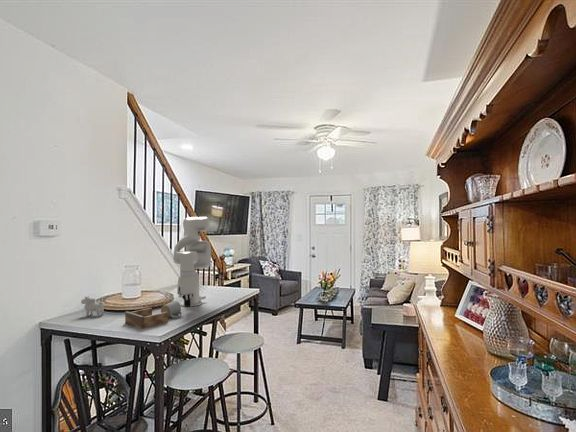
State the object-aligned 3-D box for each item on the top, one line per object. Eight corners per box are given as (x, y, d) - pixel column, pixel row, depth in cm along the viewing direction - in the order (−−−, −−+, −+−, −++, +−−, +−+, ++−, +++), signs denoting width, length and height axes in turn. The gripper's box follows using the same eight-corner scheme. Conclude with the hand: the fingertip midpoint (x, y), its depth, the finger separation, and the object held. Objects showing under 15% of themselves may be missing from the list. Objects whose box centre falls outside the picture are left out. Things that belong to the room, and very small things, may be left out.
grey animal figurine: (85, 313, 192) (85, 295, 192) (106, 314, 190) (106, 295, 190) (78, 316, 187) (78, 297, 187) (99, 316, 185) (99, 297, 185)
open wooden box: (150, 316, 182) (150, 306, 182) (167, 322, 172) (167, 310, 172) (125, 323, 172) (125, 311, 172) (141, 328, 161) (141, 317, 161)
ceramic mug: (159, 317, 181) (159, 303, 181) (171, 313, 188) (172, 300, 188) (173, 320, 176) (173, 305, 176) (185, 316, 183) (185, 302, 183)
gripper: (194, 272, 199) (194, 303, 199) (171, 275, 188) (171, 308, 187) (202, 273, 195) (202, 305, 194) (179, 276, 183) (179, 310, 182)
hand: (187, 306), depth 190 cm, fingers closed
